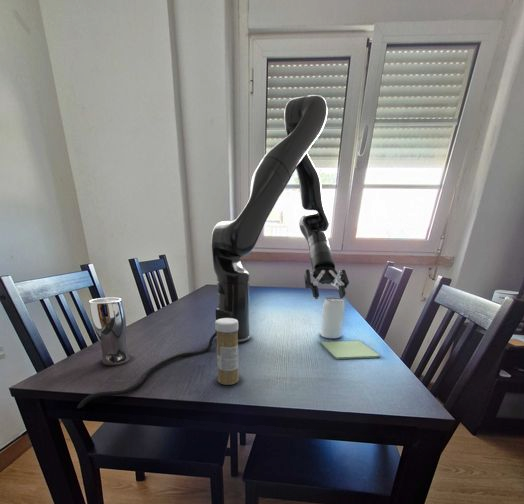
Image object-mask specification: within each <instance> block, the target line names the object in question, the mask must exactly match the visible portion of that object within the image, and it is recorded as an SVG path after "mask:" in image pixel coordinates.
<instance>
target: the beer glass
mask: <svg viewBox="0 0 524 504" xmlns="http://www.w3.org/2000/svg"><path fill="white" fill-rule="evenodd" d="M88 302H89V311H90V318H91V322H92V326H93V329H94V333H95V334H96V337H97V339H98V341H99V344H100V348H101V352H102V354H101V355H102V356H101V357H102V364H103V365H105V366H118V365H119V366H120V365H123V364H126V363H128V362H130V360H131V357H130V353H129V351H128V348H127V320H126V313H125V308H124V305H123V301H122V298H120V297H99V298H93V299H90V300H89V301H88Z"/></svg>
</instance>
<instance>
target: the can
mask: <svg viewBox="0 0 524 504" xmlns="http://www.w3.org/2000/svg"><path fill="white" fill-rule="evenodd" d="M345 306H346V305H345V299H344V298H343V299H342V298H340V297H335V296H331V297H325V299H324V302H323V305H322V313H321V323H320V324H321V325H320V336H321V337H323V338H325V339H330V340H336V339H340V338H341V336H342V333H343V332H342V330H343V323H344V315H345Z"/></svg>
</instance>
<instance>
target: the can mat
mask: <svg viewBox="0 0 524 504" xmlns="http://www.w3.org/2000/svg"><path fill="white" fill-rule="evenodd" d="M321 345H322V346H323V347H324V348H325V349H326V350H327V352H329V354H330V355H332V356H333V357H334V358H335V360H346V359H375V358H381V355H379V354H378V353H377V352H376V351H374V350H373V349H371V348H370V347H369V346H367V344H364V343H363V342H362V341H360V340H345V341H343V340H341V341H340V340H339V341H321Z"/></svg>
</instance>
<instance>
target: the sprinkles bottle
mask: <svg viewBox="0 0 524 504" xmlns="http://www.w3.org/2000/svg"><path fill="white" fill-rule="evenodd" d="M214 327H215V329H216V332H217V336H216V364H217V374H218V375H217V381H218V383H219V384H220V385H224V386H230V385H235V384H236V383H238V382H239V380H240V379H239V378H240V377H239V343H238V320H236V319H233V318H222V319H218V320H216V319H215V321H214ZM215 329H214V330H215Z"/></svg>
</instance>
